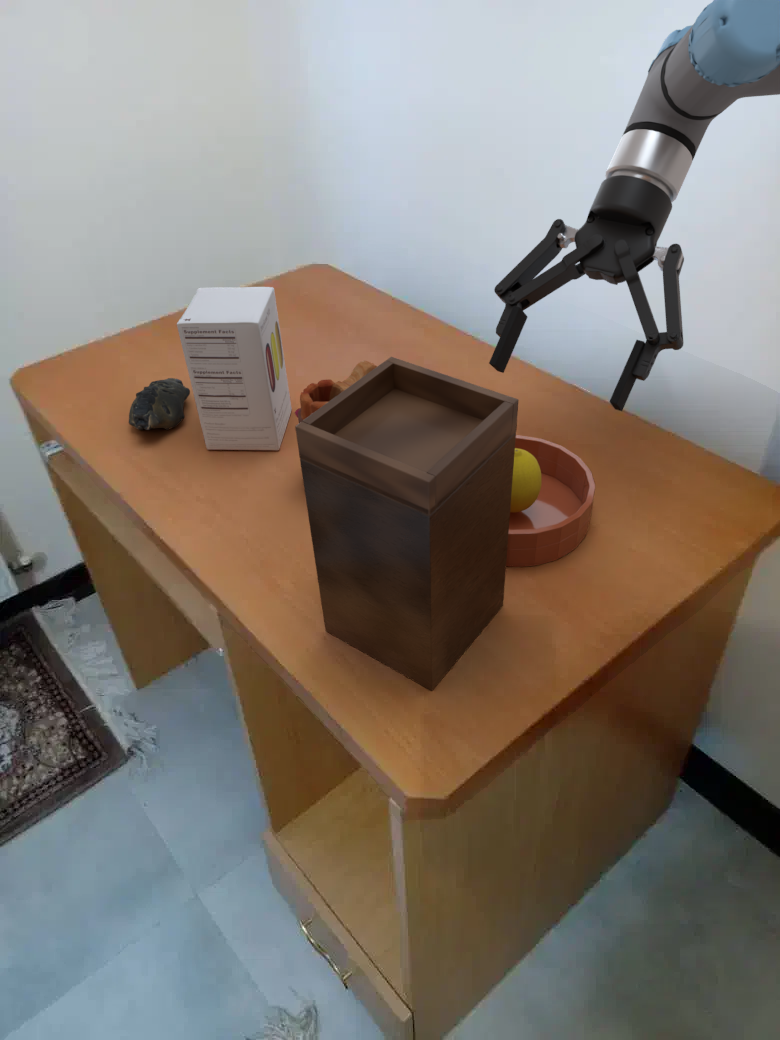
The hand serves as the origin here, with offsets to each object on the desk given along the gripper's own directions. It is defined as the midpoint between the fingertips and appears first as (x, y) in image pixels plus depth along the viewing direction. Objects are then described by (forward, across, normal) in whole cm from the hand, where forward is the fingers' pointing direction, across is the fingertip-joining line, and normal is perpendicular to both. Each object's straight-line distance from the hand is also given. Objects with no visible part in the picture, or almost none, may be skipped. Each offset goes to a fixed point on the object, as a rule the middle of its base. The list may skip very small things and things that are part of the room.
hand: (553, 387), depth 81 cm
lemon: (+13, 0, -3) cm, 14 cm away
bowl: (+14, 0, -3) cm, 14 cm away
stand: (+26, 0, +9) cm, 28 cm away
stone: (+19, +47, +2) cm, 51 cm away
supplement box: (+17, +35, -1) cm, 39 cm away
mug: (+16, +19, -1) cm, 25 cm away
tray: (+12, 0, +24) cm, 26 cm away
